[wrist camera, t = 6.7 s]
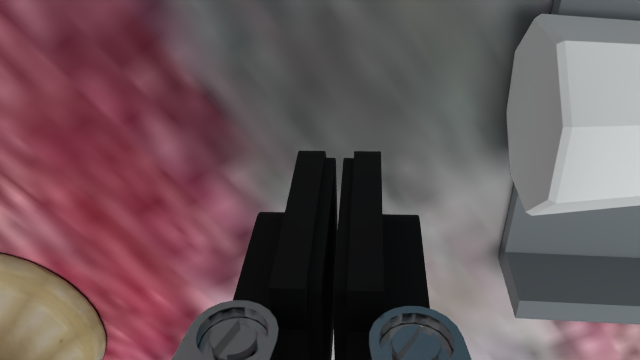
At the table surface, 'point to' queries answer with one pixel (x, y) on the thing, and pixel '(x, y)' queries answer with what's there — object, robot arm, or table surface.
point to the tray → (575, 240)
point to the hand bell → (45, 316)
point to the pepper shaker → (575, 115)
